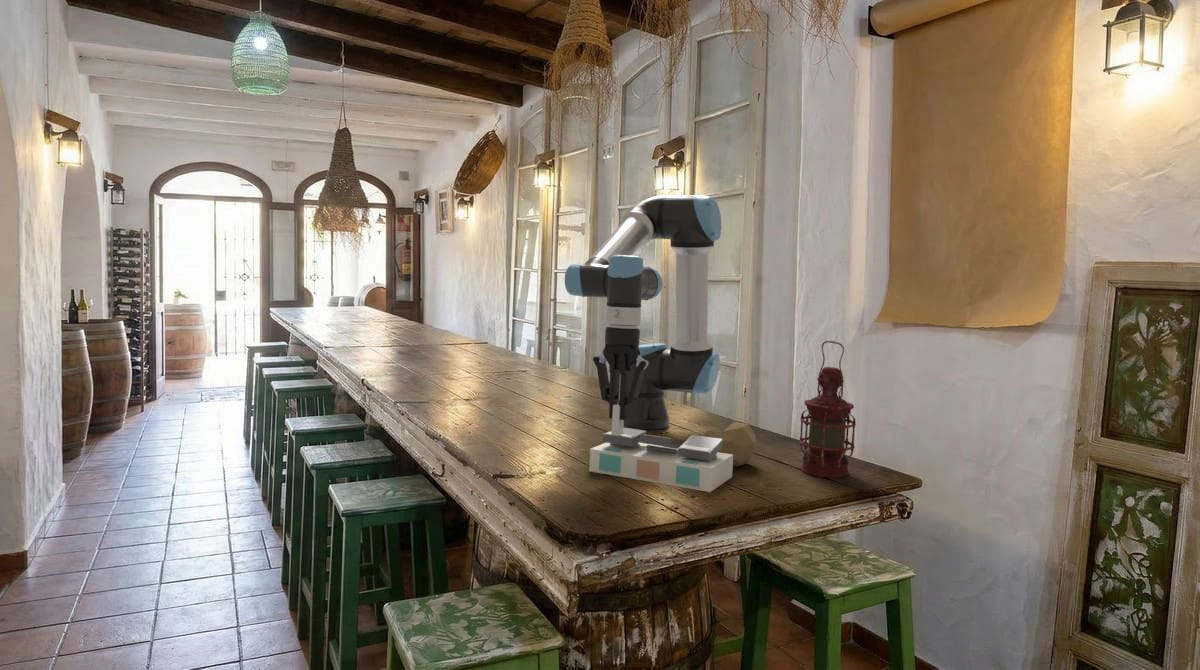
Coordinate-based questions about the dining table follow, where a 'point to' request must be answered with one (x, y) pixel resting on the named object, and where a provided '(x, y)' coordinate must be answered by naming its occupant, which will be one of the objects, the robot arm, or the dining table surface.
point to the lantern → (827, 426)
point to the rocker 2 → (700, 447)
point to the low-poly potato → (736, 442)
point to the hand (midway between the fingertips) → (617, 433)
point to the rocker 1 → (624, 437)
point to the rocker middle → (660, 441)
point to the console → (661, 465)
